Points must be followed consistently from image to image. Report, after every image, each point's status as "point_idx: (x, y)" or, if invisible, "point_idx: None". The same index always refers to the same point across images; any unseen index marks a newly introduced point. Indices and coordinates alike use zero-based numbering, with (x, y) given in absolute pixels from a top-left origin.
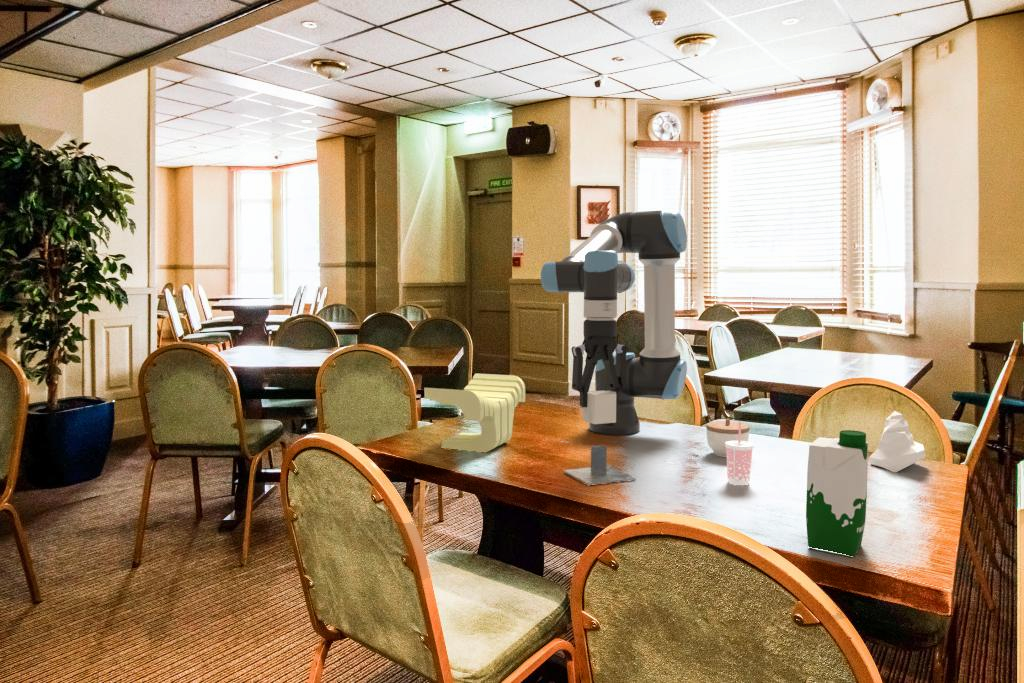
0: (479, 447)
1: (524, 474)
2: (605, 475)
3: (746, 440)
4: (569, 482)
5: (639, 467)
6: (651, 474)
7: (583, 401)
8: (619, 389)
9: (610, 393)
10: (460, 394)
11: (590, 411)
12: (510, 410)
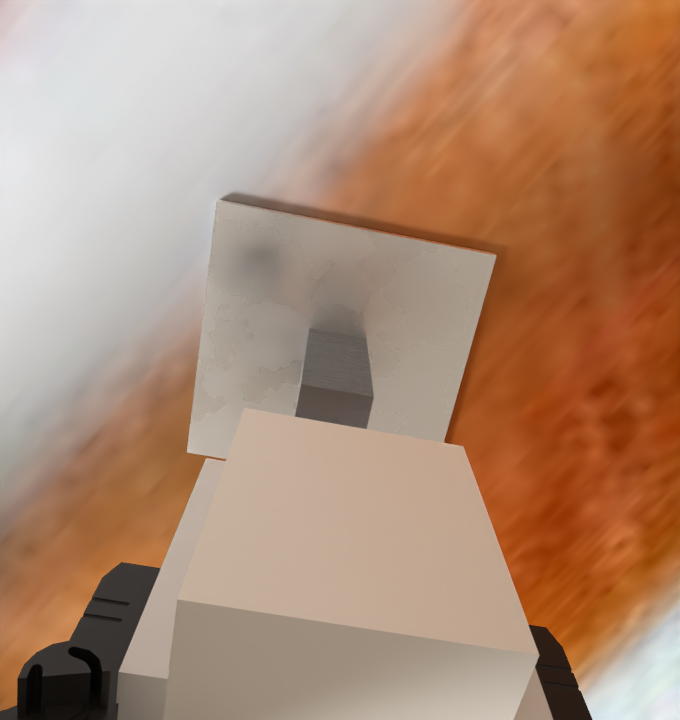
0: None
1: (582, 553)
2: (322, 320)
3: None
4: (516, 355)
5: (43, 367)
6: (67, 235)
7: (567, 680)
8: (64, 670)
9: (238, 652)
10: None
11: None
12: None
